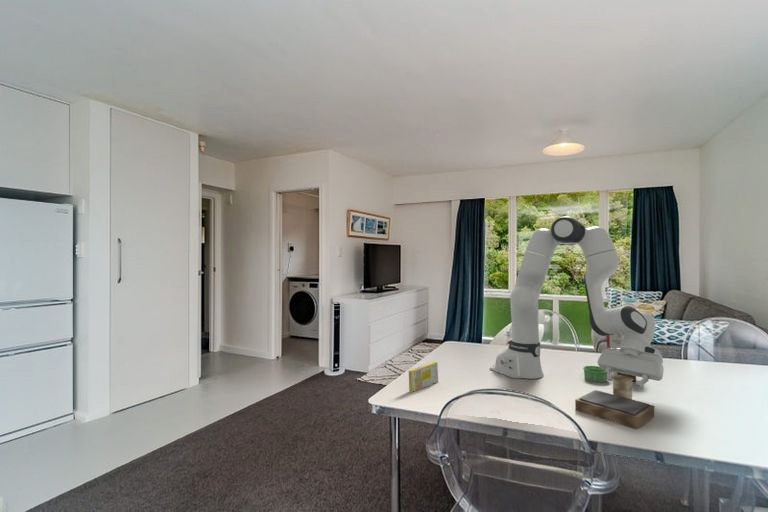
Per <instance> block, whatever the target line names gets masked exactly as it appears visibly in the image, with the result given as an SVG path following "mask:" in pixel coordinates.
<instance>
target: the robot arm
mask: <svg viewBox="0 0 768 512" xmlns="http://www.w3.org/2000/svg"><path fill="white" fill-rule="evenodd" d="M573 245H578V246H579V247H580V249H581V251H582V254H583V258H584V259H585V264H586V267H585V268H586V271H585V273H584V276H583V284H584V289H585V294H586V301H587V306H588V312H589V313H588V314H589V315H588V316H589V319H588V320H589V326H590V328H591V329H592V331H594V333H596V334H597V335H599V336H602V337H606V336H607V335H611V334H617V333H622V334H623V335H624V338H623V341H622V343H621V346H620V349H618V348H611V347H607V346H606V347H604V348H602V350H601V353H600V355H599V357H598V359H597V366H598V367H600V368H601V369H605V370H606V371H607V381H608V382H613V377H614V376H613V374H612V373H613V372H615V373H617V372H619V373H623V374H628V375H633V376H636V377H638V378H641V379H640V380H636V382H635V386H636V388H639V389H643V386H644V385H645V384H647V383H648V382H649V380H653V381H658V382H660V381H661V380H663V377H664V370H665V368H664V365H663V363H664V358H663V356H662V354H661V352H660V351H659V349H657V348H654V347H652V346H651V343H652V342H653V340H654V337H655V333H656V320H655V318H654V317H653V316H652V315H651V314H649V313H647V312H644V311H638V309H636V308H635V307H633V306H630V305H623V306H618V307H616V308H611V307H610V308H607V309H606V306H605V302H604V297H603V294H602V293H603V292H602V288H603V287H602V286H603V284H604V283H605V282H606V280H608V279H609V278H610V277H611V276H612V275H614V274H615V272H617V270H618V269H619V265H620V259H619V254H618V253H617V250H616V247H615V245H614V243H613V240H612V238H611V236H610V235H609V233H608V232H607V230H606V229H605V228H604V227H602V226H591V227H585V225H584V224H582V223H581V222H580V221H579V220H578V219H576V218H574V217H571V216H560V217H559V218H556V219H555V220H554V221H553V222H552V224H551V226H550V229H547V228H538V229H536V230H534V231H533V233H532V235H531V237H530V239H529V240H528V243H527V246H526V248H525V250H524V251H525V252H524V254H523V257H522V261H521V264H520V267H519V270H518V272H517V273H518V274H517V278H516V281H515V284H514V287H513V289H512V291H511V292H510V296H509V298H510V299H509V301H510V317H511V319H510V320H511V340H508V341H507V342H506V345H508V348H506V349H505V350H503V351H502V352H500V353H499V354H498V355H496V358H495V363H494V364H491V365H490V368H489V369H490V371H494V372H496V373H498V372H499V373H498V374H502V375H504V376H507V377H509V378H512V379H530V380H531V379H540V378H543V377H544V371H543V369H542V365H541V358H540V357H541V342H540V338H539V337H540V331H539V330H540V329H539V327H540V326H539V325H540V323H539V320H540V319H539V318H540V317H539V298H540V295H541V291H542V290H543V286H544V284H545V283H544V282H545V280H546V277H547V274H548V271H549V268H550V265H551V262H552V260H553V256H554V253H555V251H556V249H557V247H558V246H573Z"/></svg>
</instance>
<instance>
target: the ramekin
mask: <svg viewBox="0 0 768 512" xmlns="http://www.w3.org/2000/svg"><path fill="white" fill-rule="evenodd" d="M582 369H583V372H584V379H586V380H587V381H590V382H594V381H595V382H596V383H605V382H607V381H608V380H607V375H608V374H607V371H606V370H605V369H601V368H600V367H599V365H597V366H596V365H585V366H583V368H582ZM595 382H594V383H595Z"/></svg>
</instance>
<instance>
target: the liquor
mask: <svg viewBox="0 0 768 512" xmlns="http://www.w3.org/2000/svg"><path fill="white" fill-rule="evenodd" d="M616 307H619V306H617V305H611V307H610V309H611V308H616ZM623 338H624V335H623V334H622V333H617V334H611V335H607V336H605V339H606V348H607V347H611V348H618V349H620V346H621V343H622V341H623Z"/></svg>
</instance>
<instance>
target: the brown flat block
mask: <svg viewBox="0 0 768 512" xmlns="http://www.w3.org/2000/svg"><path fill="white" fill-rule="evenodd" d="M574 407H575V409H574V410H575V411H576V412H580V413H583V414H586V415H590V416H593V417H597V418H600V419H603V420H605V419H606V421H608V420H609V422H611V421H612V423H614V424H618V425H622V426H624V427H627V426H628V428H630V429H633V430H639V429H640V428H641V427H643V426H645V424H647V423H648V422H650V421H651V420H652V419H653V418H655V405H653V404H650V403H646V402H643V401H639V400H637V399H636V400H635V399H633V398H632V399H628V398H624V397H620V396H617V395H613V393H609V392H604V391H600V390H597V389H596V390H592V391H590V392H588V393H586V394H584V395H581V396H579V397H578V398H576V399H575V405H574Z"/></svg>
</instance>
